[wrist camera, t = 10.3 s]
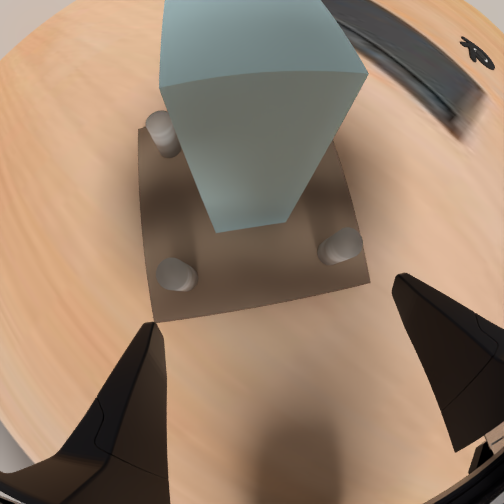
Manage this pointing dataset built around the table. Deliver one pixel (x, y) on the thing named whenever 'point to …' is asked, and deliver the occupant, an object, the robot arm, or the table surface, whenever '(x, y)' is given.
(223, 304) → the pin stand
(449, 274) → the table surface
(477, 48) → the black flat pronged piece
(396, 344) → the table surface
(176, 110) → the block
